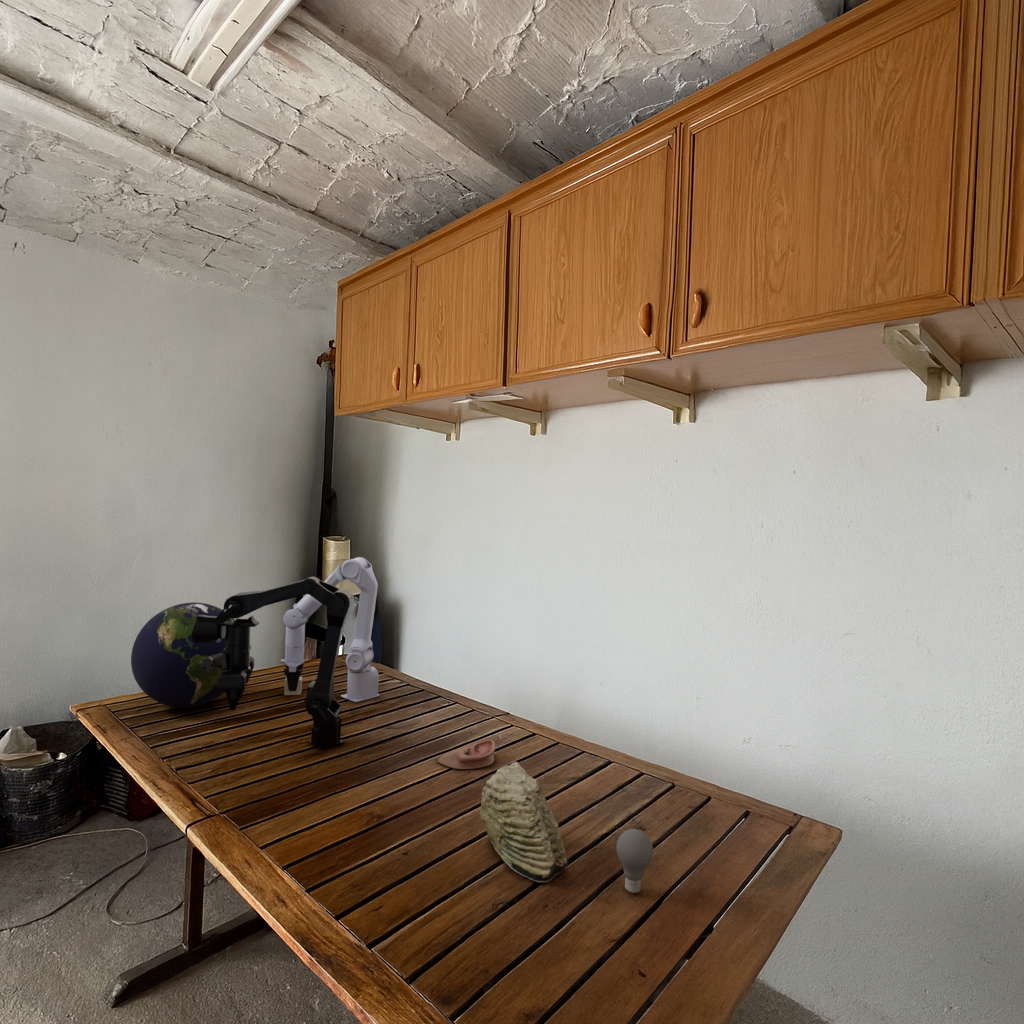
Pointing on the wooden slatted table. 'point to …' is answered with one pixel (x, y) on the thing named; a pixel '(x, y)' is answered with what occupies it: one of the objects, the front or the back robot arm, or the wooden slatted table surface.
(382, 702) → the wooden slatted table surface
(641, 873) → the light bulb
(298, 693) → the block
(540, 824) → the fossil
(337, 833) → the wooden slatted table surface
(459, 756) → the anatomical model
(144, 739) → the wooden slatted table surface
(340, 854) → the wooden slatted table surface
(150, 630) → the globe
